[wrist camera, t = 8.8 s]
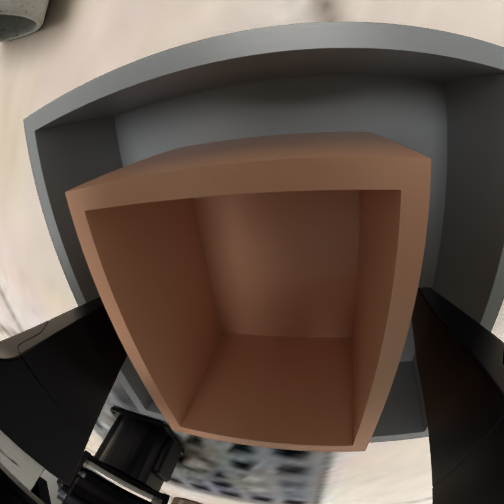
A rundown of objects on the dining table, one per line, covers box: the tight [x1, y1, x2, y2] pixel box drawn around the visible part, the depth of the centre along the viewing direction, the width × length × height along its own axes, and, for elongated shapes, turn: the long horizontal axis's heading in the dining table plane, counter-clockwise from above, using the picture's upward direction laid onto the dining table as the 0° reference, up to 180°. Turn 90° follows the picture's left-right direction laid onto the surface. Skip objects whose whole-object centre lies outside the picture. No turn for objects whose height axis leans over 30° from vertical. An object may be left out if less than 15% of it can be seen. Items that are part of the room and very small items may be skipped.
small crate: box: [65, 132, 431, 452], centre depth 9 cm, size 7×9×6 cm
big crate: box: [23, 22, 504, 442], centre depth 10 cm, size 14×14×5 cm
